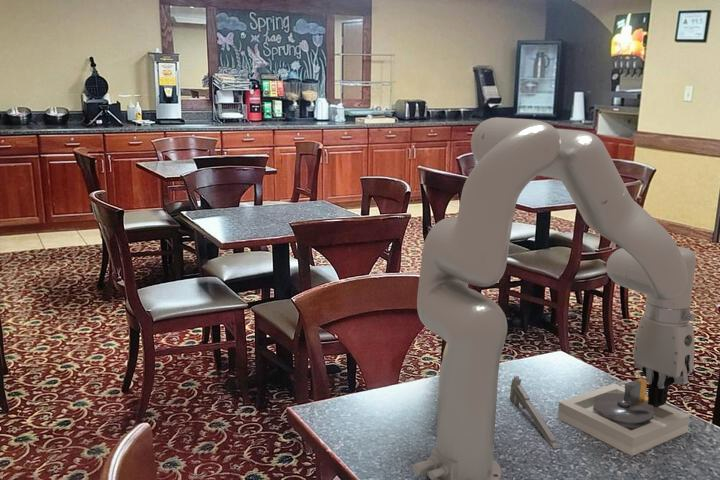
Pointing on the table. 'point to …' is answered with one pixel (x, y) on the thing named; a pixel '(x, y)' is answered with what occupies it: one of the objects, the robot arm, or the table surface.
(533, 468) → the table surface
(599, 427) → the tray
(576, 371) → the table surface
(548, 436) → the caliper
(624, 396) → the grey round piece
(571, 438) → the table surface
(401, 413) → the table surface
